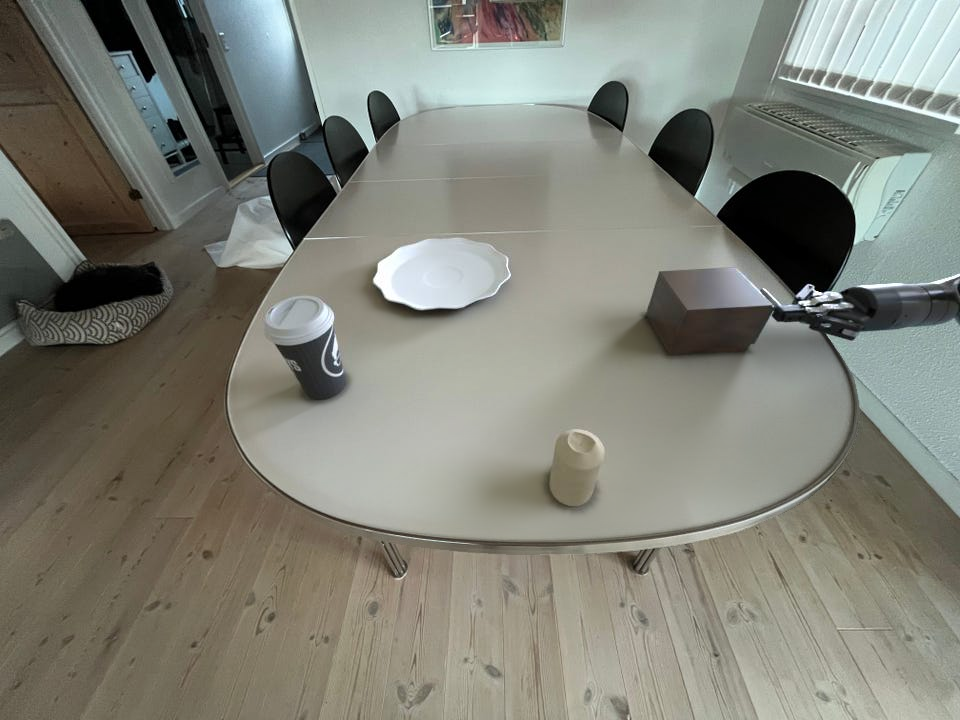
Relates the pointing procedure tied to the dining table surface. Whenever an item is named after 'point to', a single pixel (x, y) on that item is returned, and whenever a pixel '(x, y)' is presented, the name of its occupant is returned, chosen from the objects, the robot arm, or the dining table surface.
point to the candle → (575, 466)
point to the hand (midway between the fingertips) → (776, 314)
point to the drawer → (775, 304)
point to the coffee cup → (307, 344)
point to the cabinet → (706, 310)
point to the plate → (441, 274)
